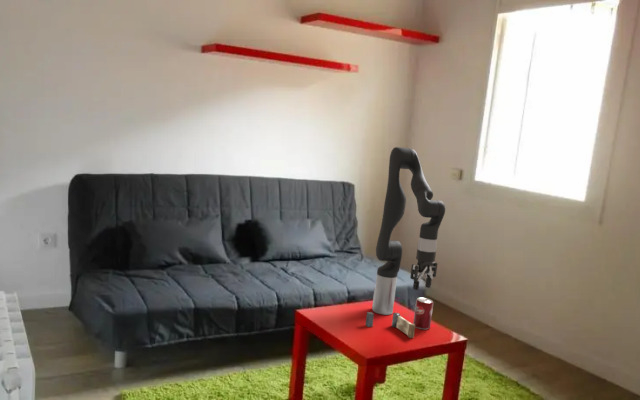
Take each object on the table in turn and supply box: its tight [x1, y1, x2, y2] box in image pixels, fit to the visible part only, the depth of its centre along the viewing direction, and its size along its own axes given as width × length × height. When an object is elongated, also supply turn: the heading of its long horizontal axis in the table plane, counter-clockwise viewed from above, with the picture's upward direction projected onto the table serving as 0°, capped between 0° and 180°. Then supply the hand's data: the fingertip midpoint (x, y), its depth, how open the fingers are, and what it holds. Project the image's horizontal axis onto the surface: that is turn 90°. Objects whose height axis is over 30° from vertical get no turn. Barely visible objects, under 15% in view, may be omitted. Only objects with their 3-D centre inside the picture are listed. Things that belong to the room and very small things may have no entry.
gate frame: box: [365, 311, 401, 329], centre depth 239 cm, size 3×14×6 cm, turn 101°
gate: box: [396, 315, 416, 339], centre depth 234 cm, size 11×2×5 cm, turn 23°
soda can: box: [412, 297, 434, 331], centre depth 243 cm, size 7×7×12 cm
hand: (421, 288), depth 230 cm, fingers open, 7 cm apart
